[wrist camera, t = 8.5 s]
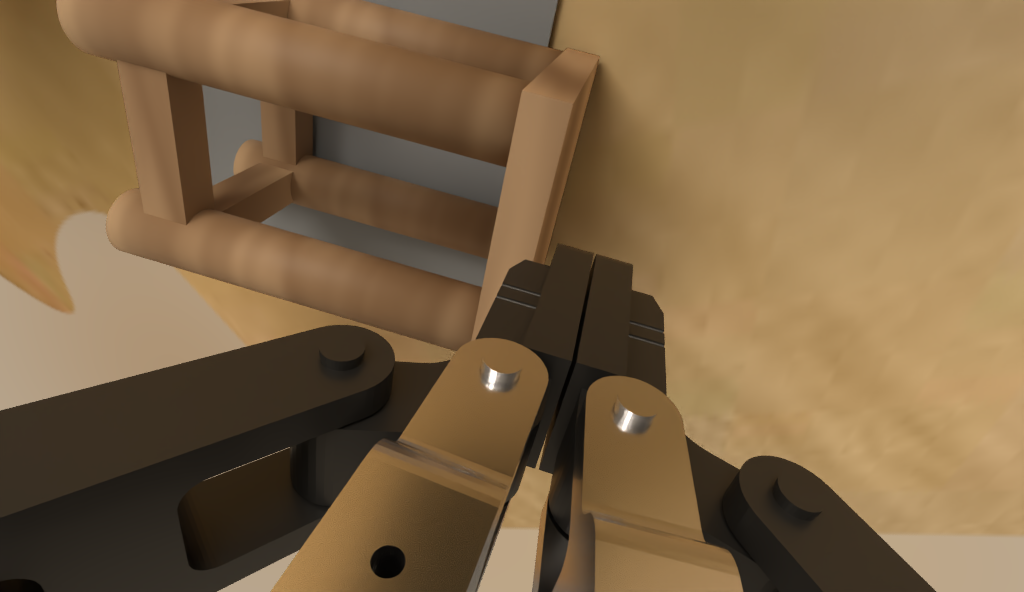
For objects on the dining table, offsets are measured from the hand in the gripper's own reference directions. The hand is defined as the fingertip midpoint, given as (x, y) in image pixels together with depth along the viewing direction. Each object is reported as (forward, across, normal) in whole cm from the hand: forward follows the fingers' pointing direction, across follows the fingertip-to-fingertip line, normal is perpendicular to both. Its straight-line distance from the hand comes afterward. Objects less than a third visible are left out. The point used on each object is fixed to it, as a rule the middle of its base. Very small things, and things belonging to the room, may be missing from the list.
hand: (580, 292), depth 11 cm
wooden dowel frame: (+5, +1, 0) cm, 5 cm away
